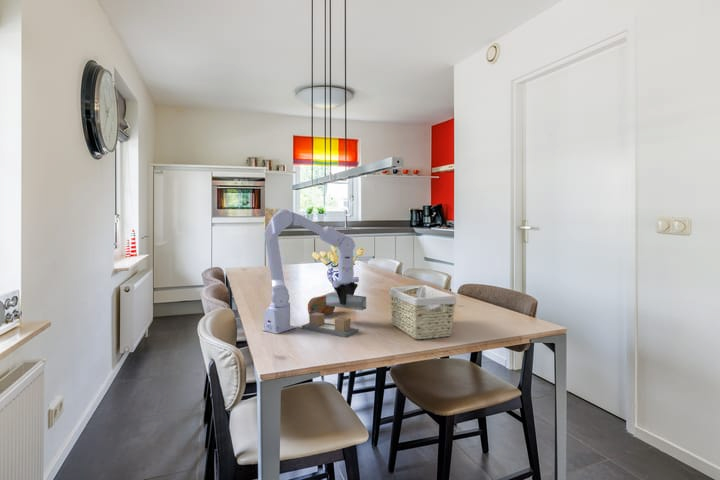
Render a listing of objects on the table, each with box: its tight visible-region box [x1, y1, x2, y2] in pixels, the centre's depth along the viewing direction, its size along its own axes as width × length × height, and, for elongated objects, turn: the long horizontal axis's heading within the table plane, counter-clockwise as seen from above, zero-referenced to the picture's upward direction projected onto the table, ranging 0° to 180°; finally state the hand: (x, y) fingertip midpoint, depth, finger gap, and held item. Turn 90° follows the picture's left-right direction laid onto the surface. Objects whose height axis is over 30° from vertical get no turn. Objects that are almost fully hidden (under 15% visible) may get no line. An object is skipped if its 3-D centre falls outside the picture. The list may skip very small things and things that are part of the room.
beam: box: [325, 292, 367, 311], centre depth 152 cm, size 4×16×4 cm, turn 59°
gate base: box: [301, 312, 359, 338], centre depth 145 cm, size 8×20×5 cm, turn 56°
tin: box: [307, 294, 336, 317], centre depth 166 cm, size 15×3×8 cm, turn 143°
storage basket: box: [389, 284, 457, 340], centre depth 145 cm, size 24×16×15 cm
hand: (346, 303), depth 152 cm, fingers closed on beam, 4 cm apart
